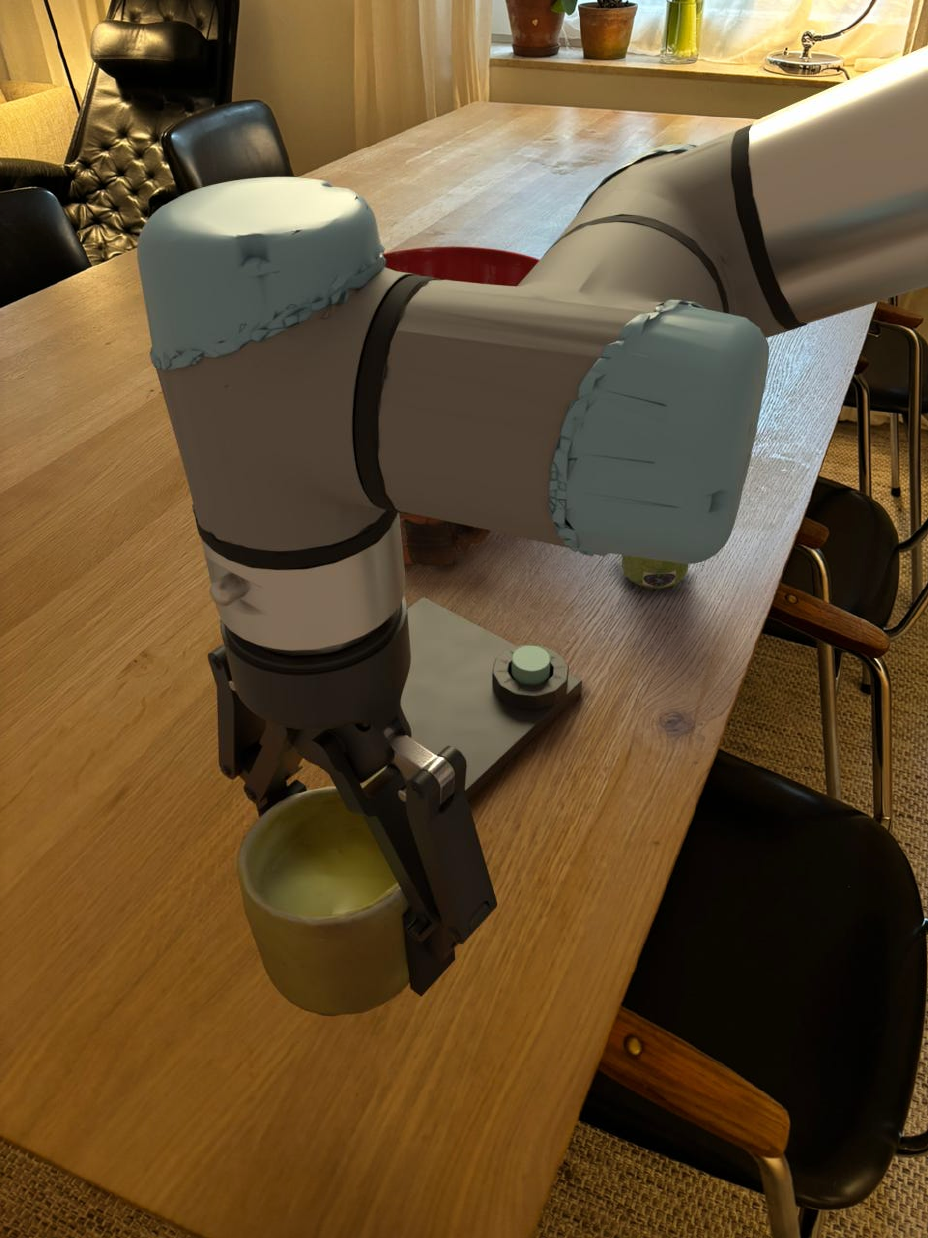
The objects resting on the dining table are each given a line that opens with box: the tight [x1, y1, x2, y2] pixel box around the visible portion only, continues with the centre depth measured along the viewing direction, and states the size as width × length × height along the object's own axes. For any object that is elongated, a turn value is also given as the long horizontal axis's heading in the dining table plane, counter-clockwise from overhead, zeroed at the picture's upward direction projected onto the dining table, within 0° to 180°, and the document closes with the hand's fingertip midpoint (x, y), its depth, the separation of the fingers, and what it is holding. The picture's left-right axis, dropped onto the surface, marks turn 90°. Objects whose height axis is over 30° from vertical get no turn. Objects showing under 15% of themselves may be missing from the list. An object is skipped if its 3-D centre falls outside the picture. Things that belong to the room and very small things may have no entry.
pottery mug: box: [399, 513, 492, 567], centre depth 95 cm, size 12×10×8 cm
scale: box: [401, 596, 583, 802], centre depth 79 cm, size 17×15×3 cm
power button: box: [512, 646, 550, 685], centre depth 78 cm, size 3×3×2 cm
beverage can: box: [621, 555, 689, 589], centre depth 88 cm, size 6×7×12 cm
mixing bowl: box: [383, 245, 541, 286], centre depth 110 cm, size 28×28×16 cm
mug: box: [236, 766, 410, 1017], centre depth 52 cm, size 12×10×10 cm
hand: (362, 920), depth 54 cm, fingers closed on mug, 9 cm apart
